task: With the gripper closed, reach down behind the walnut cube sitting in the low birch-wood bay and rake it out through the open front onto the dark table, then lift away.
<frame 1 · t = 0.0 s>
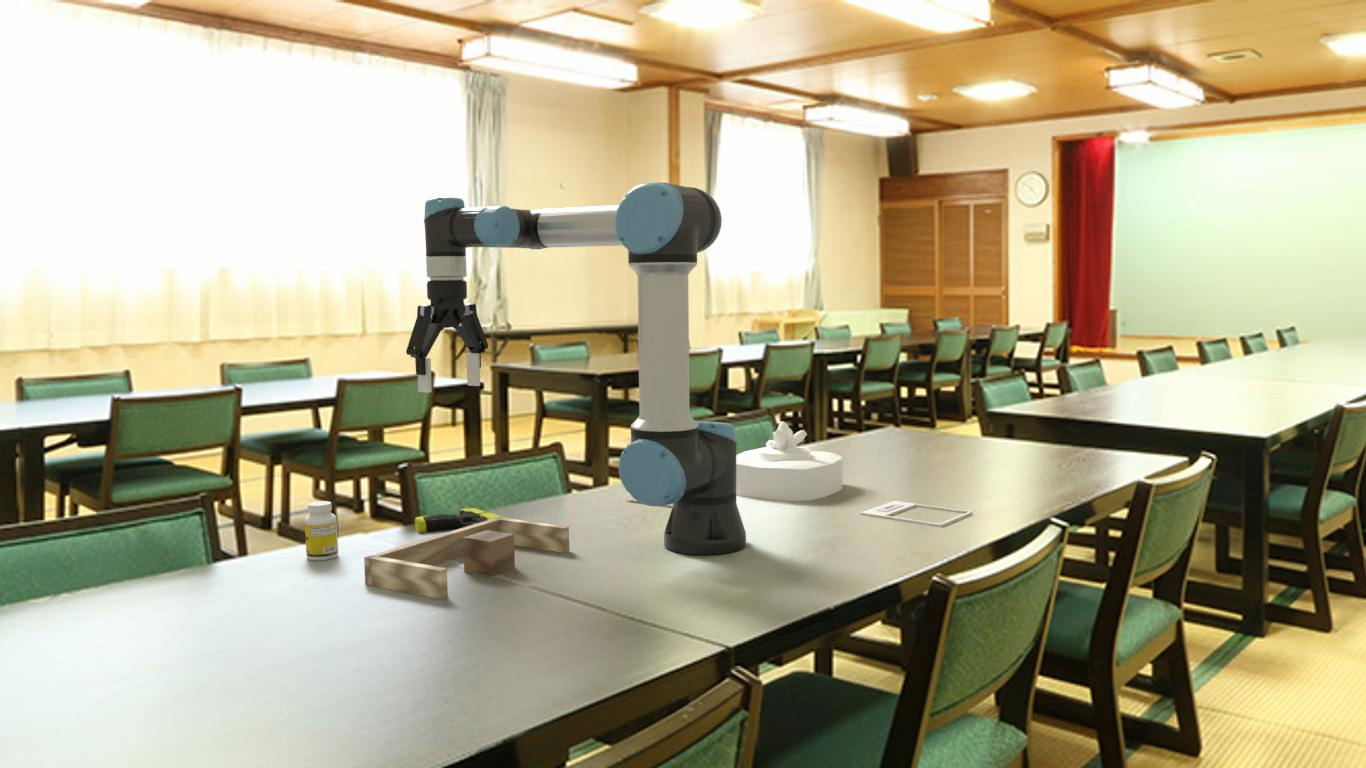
hand: (450, 389, 205), 28 cm above the table, fingers open, 13 cm apart
wooden plank: (680, 509, 229), on the table
supplement bottle: (322, 558, 188), on the table
photo frame: (916, 517, 218), on the table
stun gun: (464, 534, 207), on the table
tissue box: (783, 490, 246), on the table
bay: (472, 566, 181), on the table
cube: (489, 570, 179), on the table
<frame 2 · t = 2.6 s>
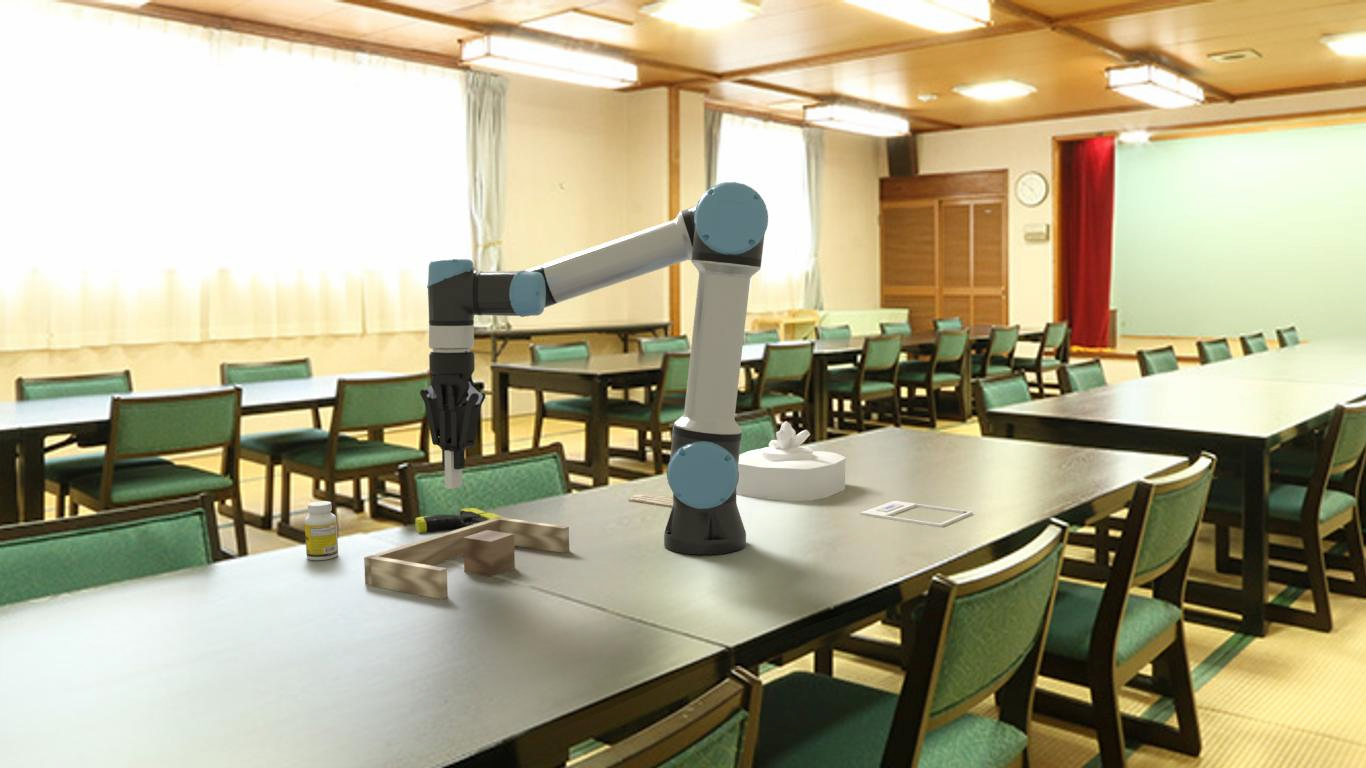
hand: (453, 487, 181), 14 cm above the table, fingers closed
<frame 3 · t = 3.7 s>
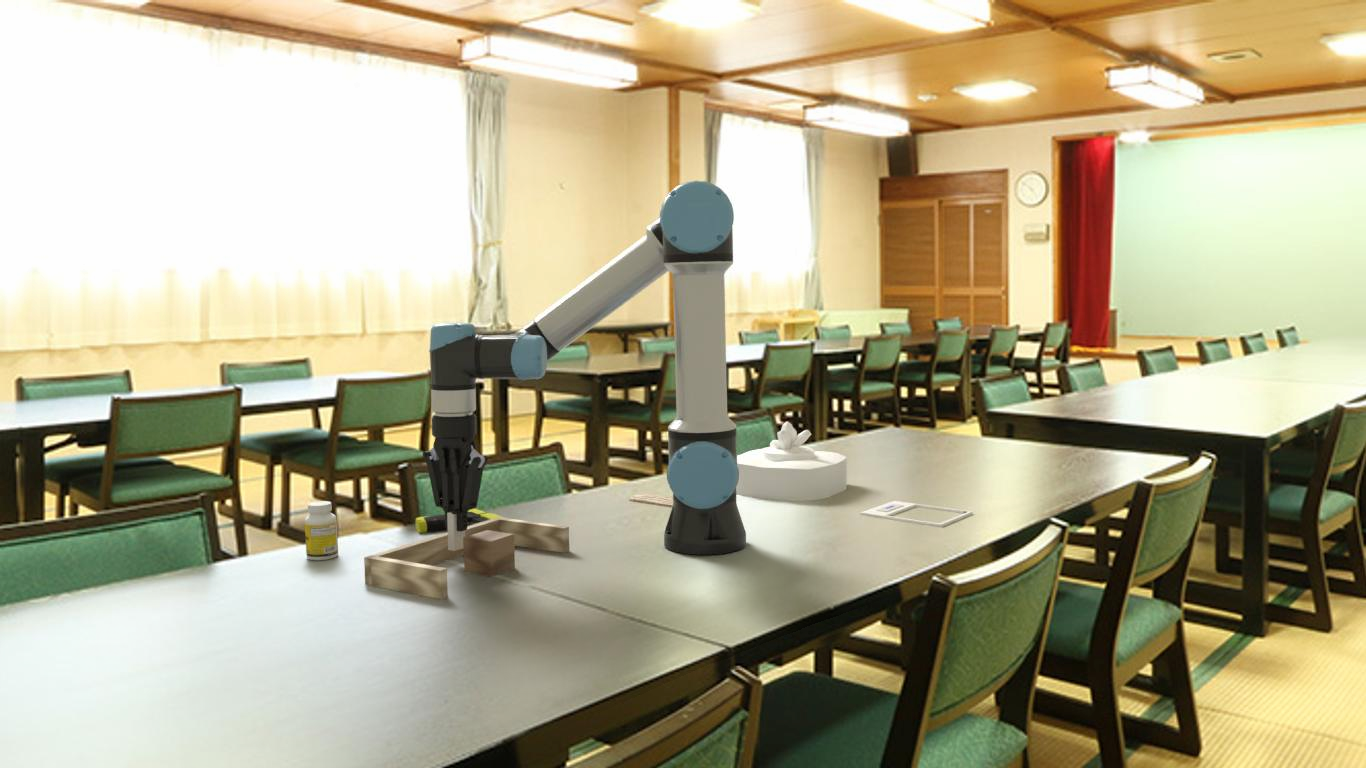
hand: (456, 548, 182), 3 cm above the table, fingers closed
nothing on the table moved.
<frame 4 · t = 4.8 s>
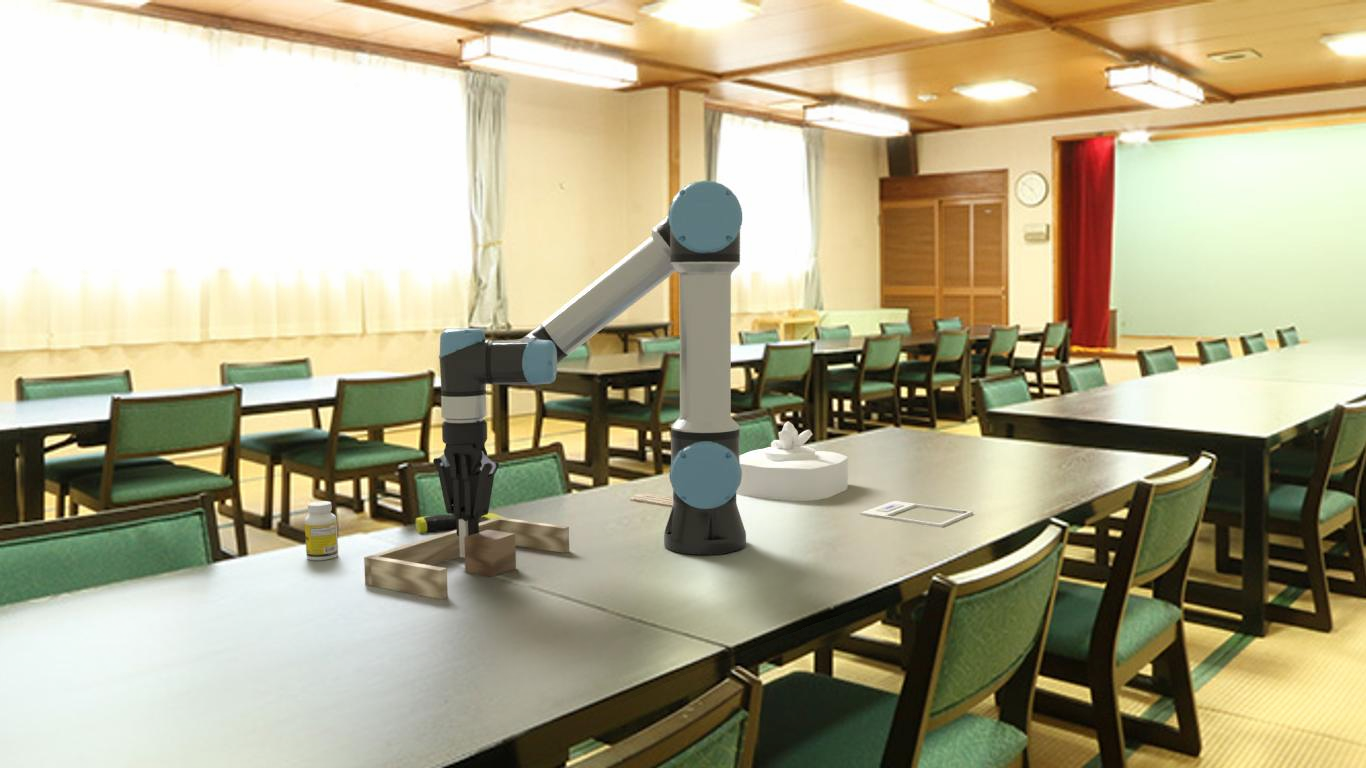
hand: (468, 555, 181), 2 cm above the table, fingers closed
cube: (490, 569, 179), on the table, touching gripper
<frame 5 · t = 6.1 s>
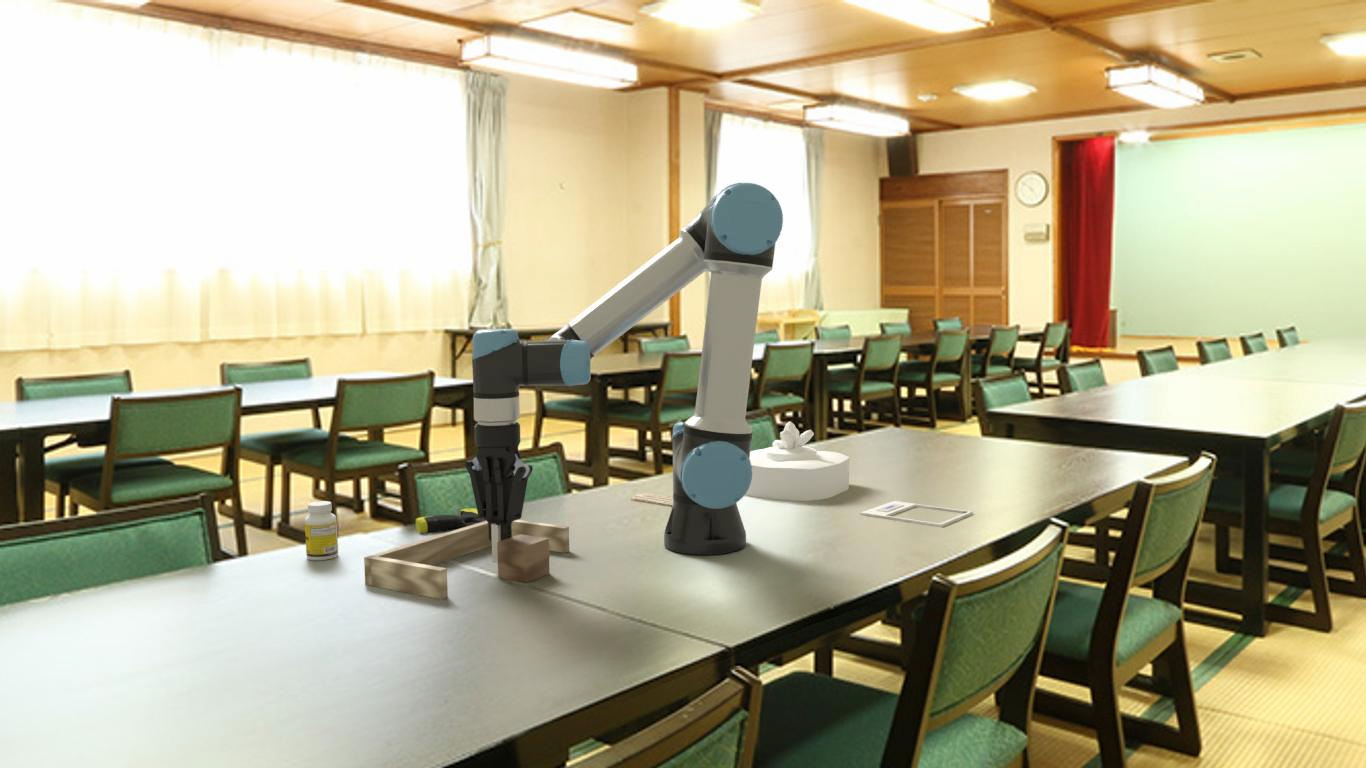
hand: (500, 560, 177), 2 cm above the table, fingers closed
cube: (524, 575, 175), on the table, touching gripper
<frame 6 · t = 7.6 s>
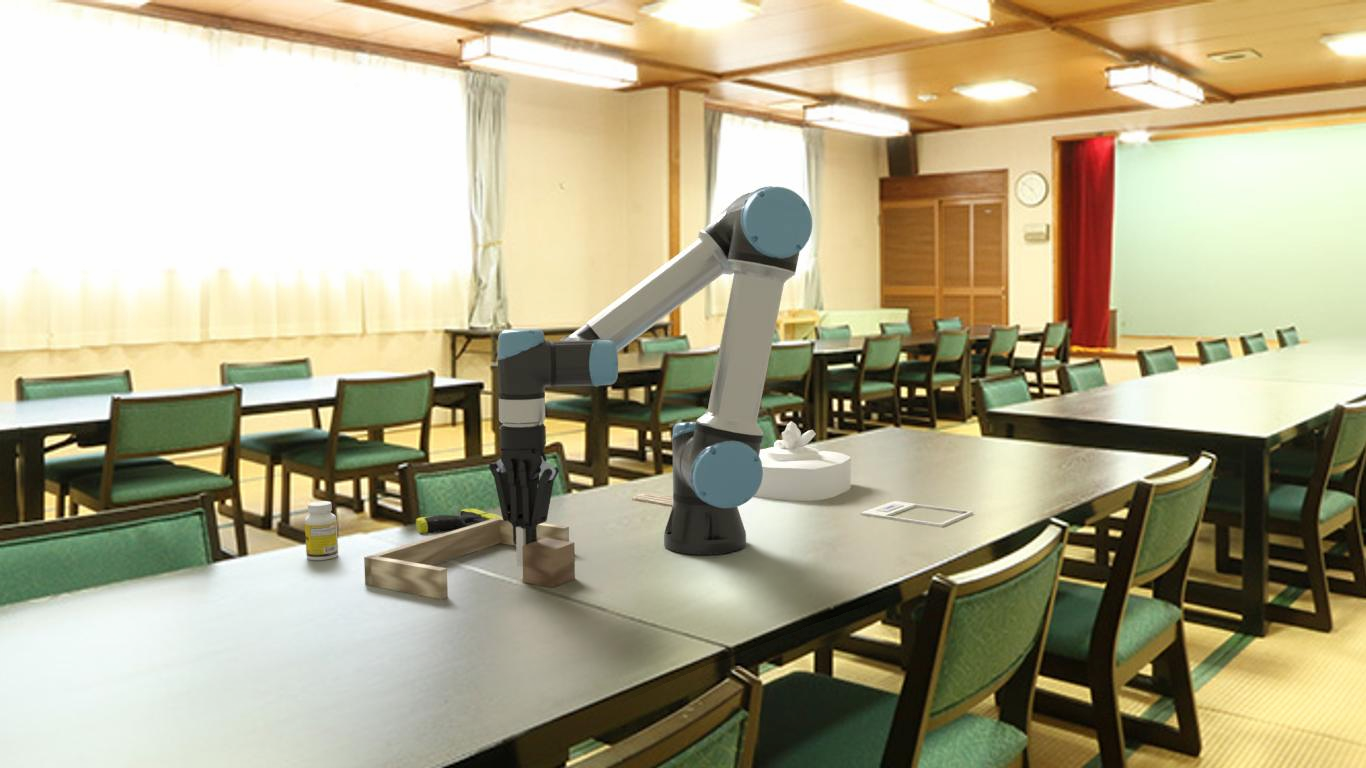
hand: (525, 564, 174), 2 cm above the table, fingers closed
cube: (549, 580, 172), on the table, touching gripper
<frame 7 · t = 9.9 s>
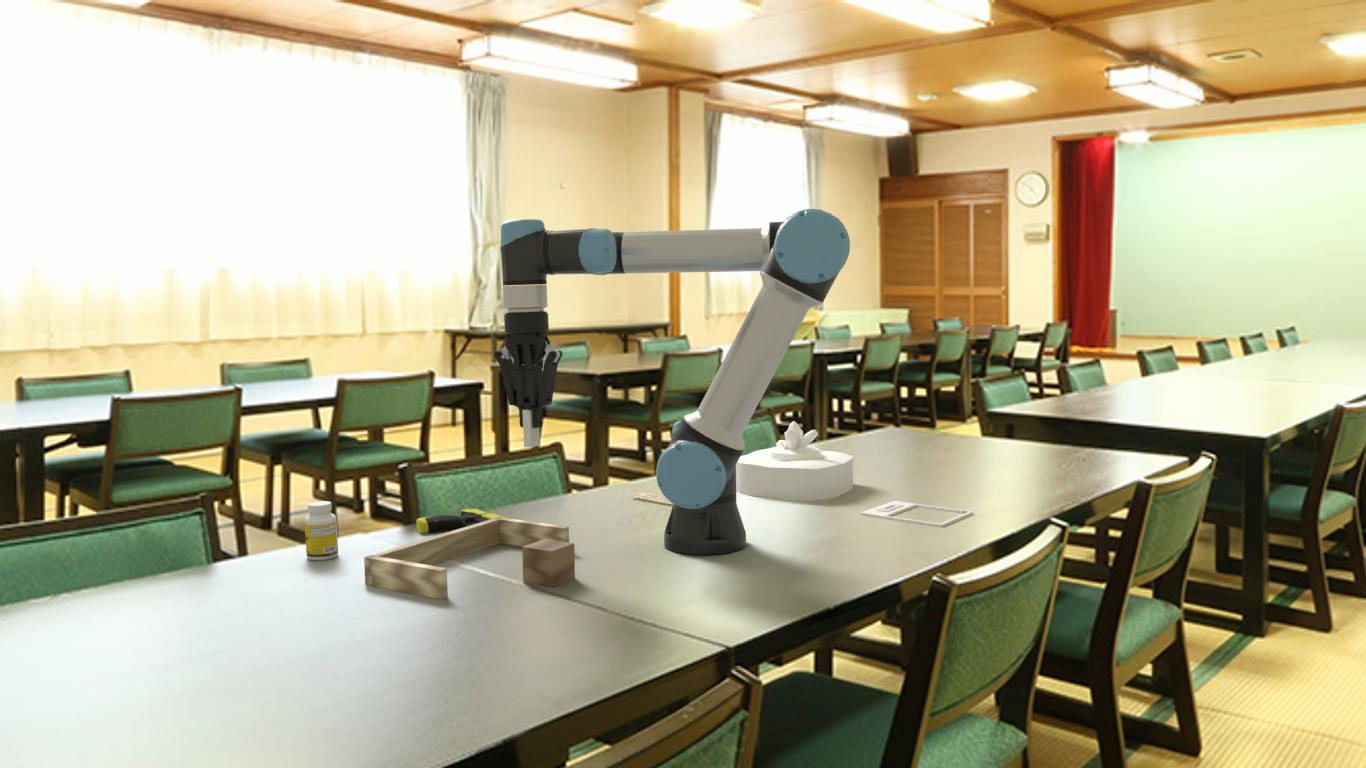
hand: (532, 446, 183), 20 cm above the table, fingers closed
cube: (549, 580, 172), on the table
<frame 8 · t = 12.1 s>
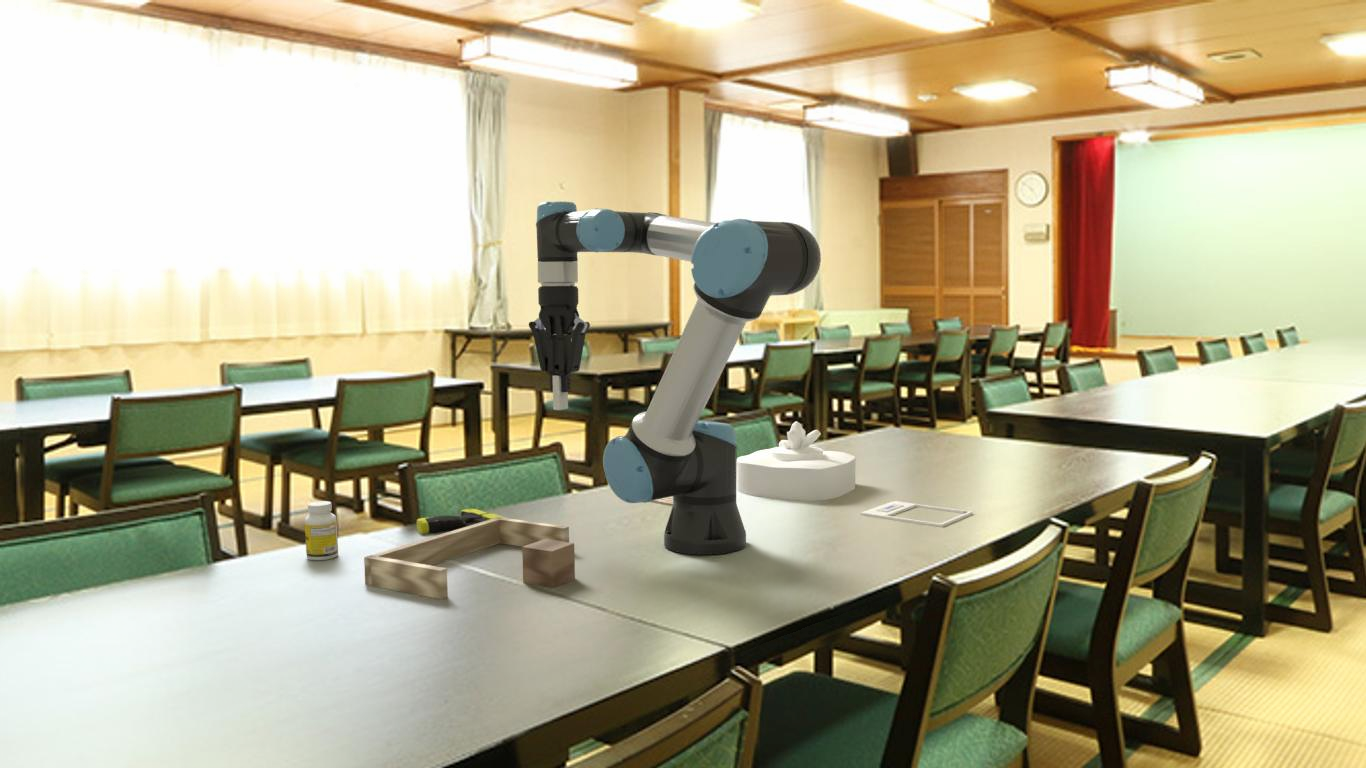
hand: (560, 409, 201), 24 cm above the table, fingers closed
at the end: cube inside the target area (0.5 cm from its centre), on the table; cube moved 12.8 cm from its start; cube tilted 0° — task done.
